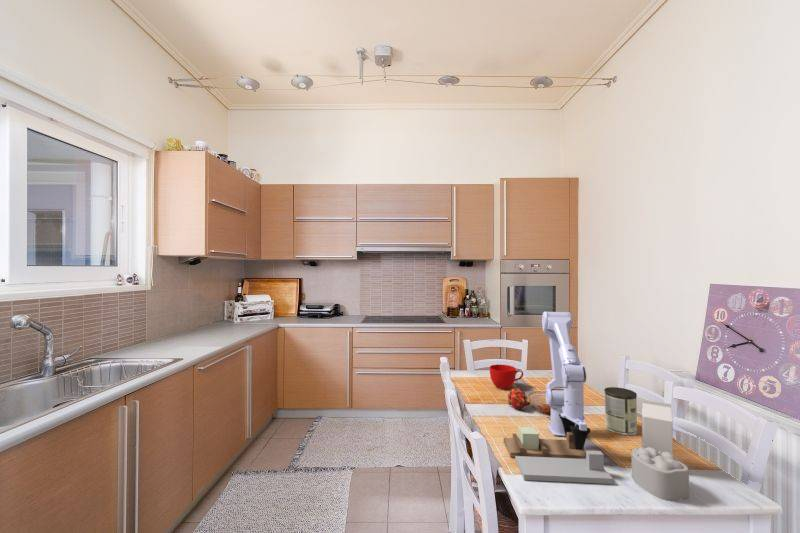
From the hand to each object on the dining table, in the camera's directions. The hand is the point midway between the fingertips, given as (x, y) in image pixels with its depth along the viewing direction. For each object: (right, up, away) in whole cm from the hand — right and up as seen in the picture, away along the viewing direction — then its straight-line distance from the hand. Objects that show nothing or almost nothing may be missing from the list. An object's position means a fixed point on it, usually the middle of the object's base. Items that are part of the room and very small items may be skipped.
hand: (574, 443), depth 114 cm
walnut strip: (-9, -3, +1) cm, 10 cm away
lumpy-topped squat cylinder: (+14, -3, -17) cm, 23 cm away
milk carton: (+22, -3, -7) cm, 23 cm away
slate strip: (-9, -3, -11) cm, 15 cm away
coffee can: (+26, -4, +17) cm, 31 cm away
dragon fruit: (-5, -4, +38) cm, 38 cm away
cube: (-14, -1, +1) cm, 15 cm away
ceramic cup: (-2, -4, +64) cm, 65 cm away
